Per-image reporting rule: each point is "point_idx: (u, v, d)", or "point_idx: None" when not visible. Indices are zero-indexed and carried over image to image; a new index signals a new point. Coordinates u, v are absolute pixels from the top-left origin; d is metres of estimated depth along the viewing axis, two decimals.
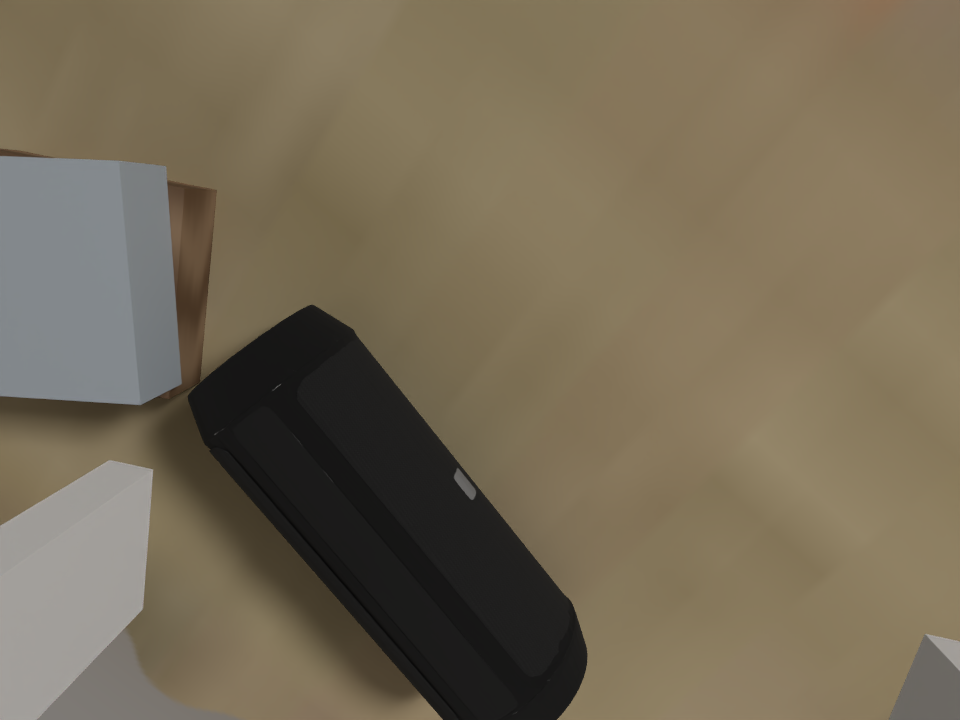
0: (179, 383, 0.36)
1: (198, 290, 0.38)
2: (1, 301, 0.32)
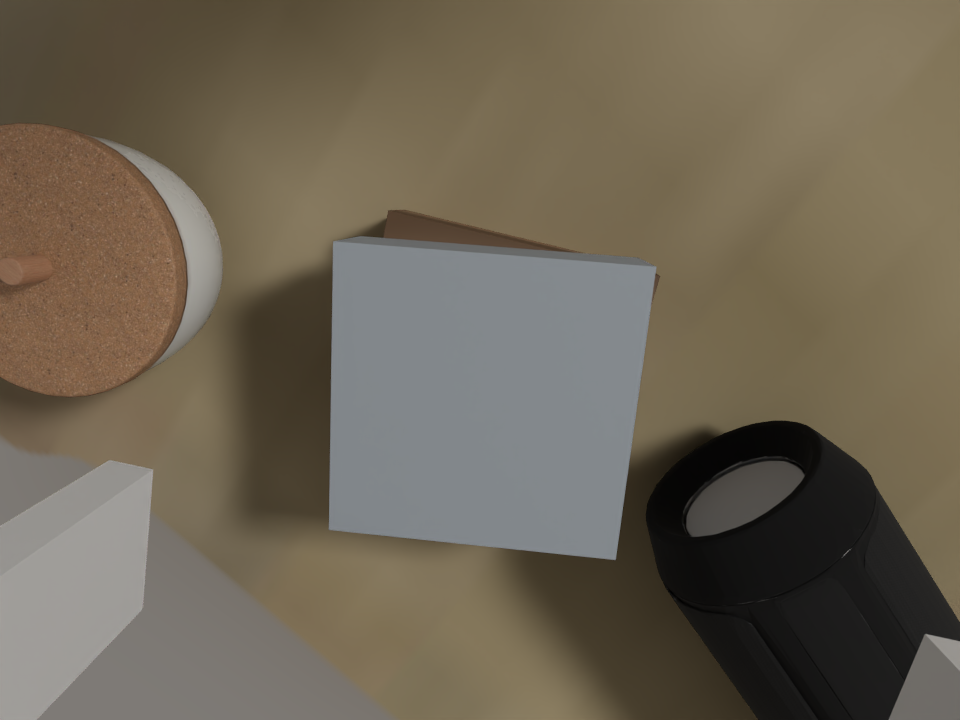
0: None
1: None
2: (458, 430, 0.25)
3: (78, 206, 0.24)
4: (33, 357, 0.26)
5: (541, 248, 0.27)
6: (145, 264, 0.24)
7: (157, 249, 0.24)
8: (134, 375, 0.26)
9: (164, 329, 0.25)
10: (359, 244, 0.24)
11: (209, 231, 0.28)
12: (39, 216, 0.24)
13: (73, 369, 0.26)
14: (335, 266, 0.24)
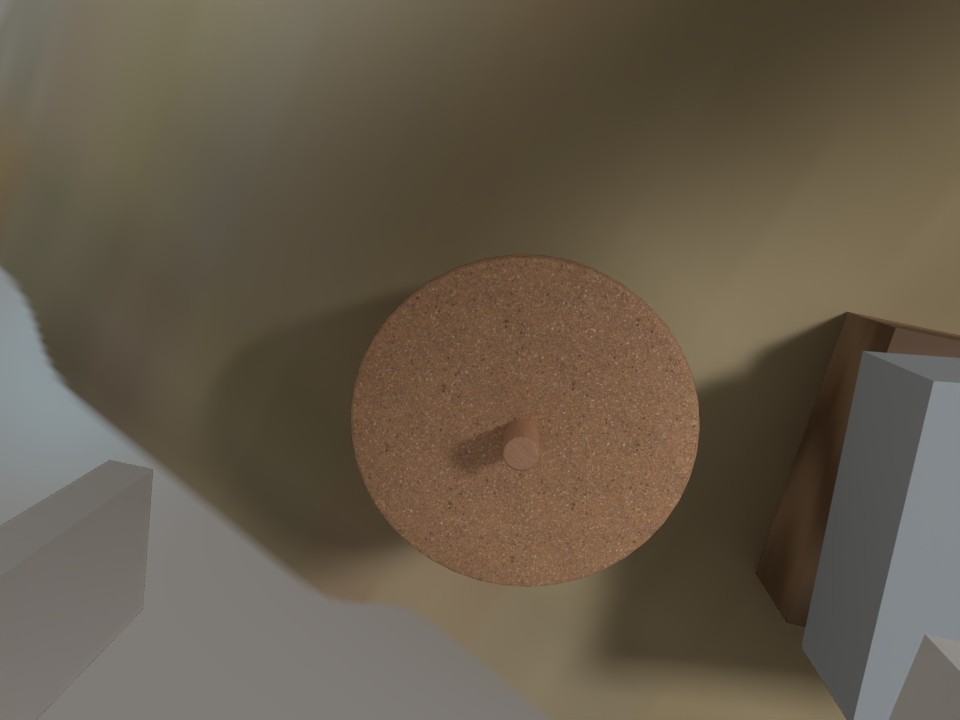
0: None
1: None
2: None
3: (587, 360, 0.19)
4: (494, 543, 0.20)
5: None
6: (666, 429, 0.19)
7: (683, 410, 0.19)
8: (619, 560, 0.20)
9: (672, 505, 0.20)
10: None
11: None
12: (531, 373, 0.19)
13: (545, 556, 0.20)
14: (930, 411, 0.19)
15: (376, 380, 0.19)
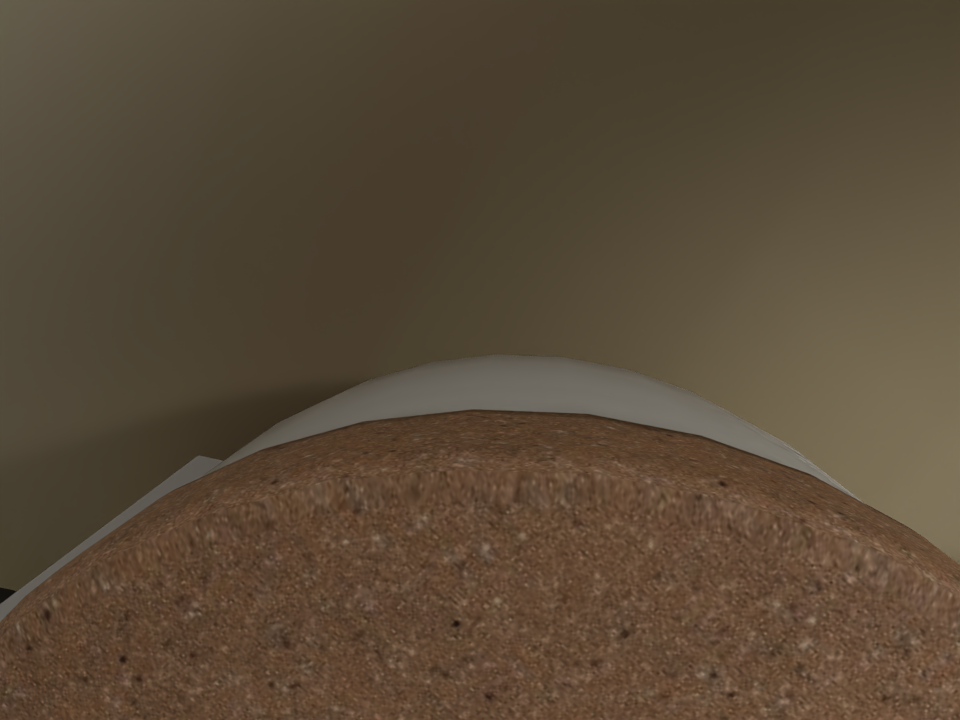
0: None
1: None
2: None
3: None
4: None
5: None
6: None
7: None
8: None
9: None
10: None
11: None
12: None
13: None
14: None
15: None
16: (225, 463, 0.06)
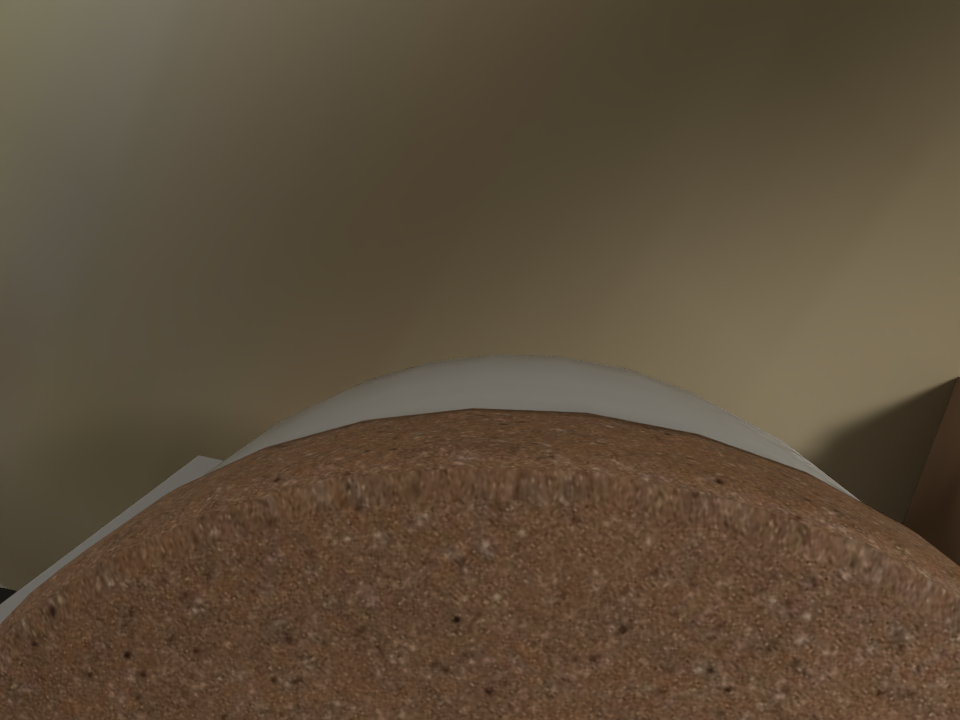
0: None
1: None
2: None
3: None
4: None
5: None
6: None
7: None
8: None
9: None
10: None
11: None
12: None
13: None
14: None
15: None
16: (227, 461, 0.06)
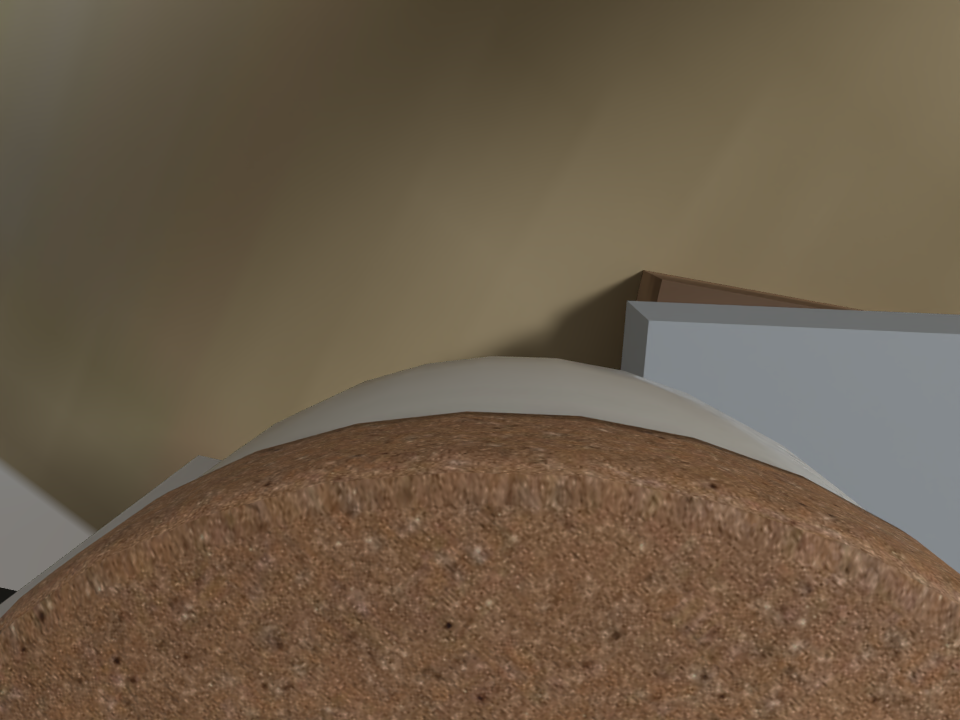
0: None
1: None
2: None
3: None
4: None
5: None
6: None
7: None
8: None
9: None
10: (684, 323, 0.18)
11: None
12: None
13: None
14: (649, 352, 0.18)
15: None
16: (220, 465, 0.06)
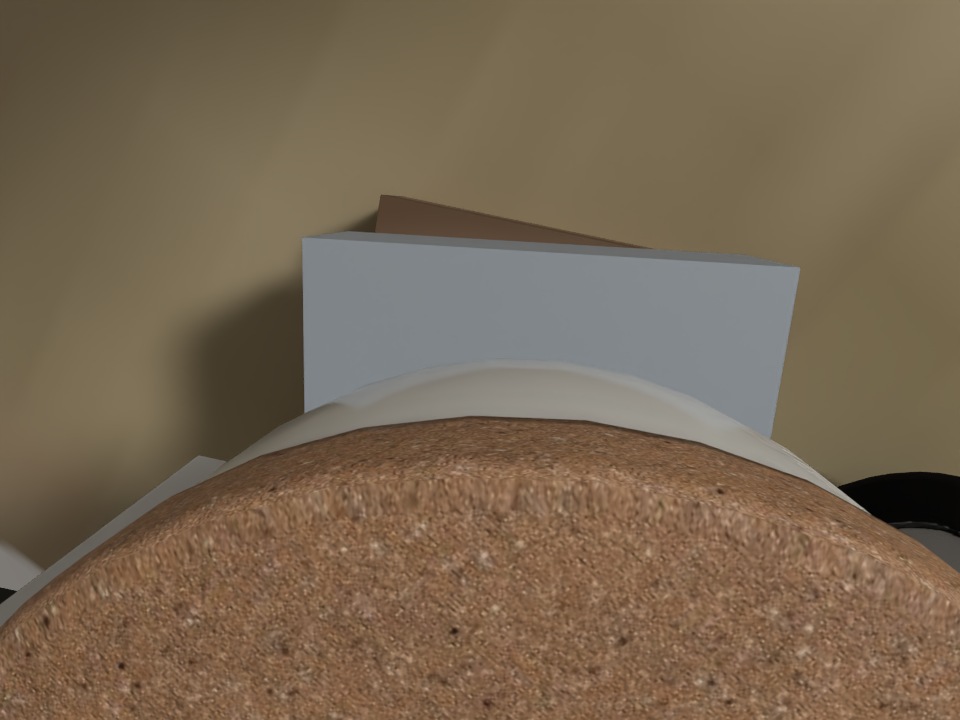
0: None
1: None
2: None
3: None
4: None
5: (600, 242, 0.19)
6: None
7: None
8: None
9: None
10: (342, 241, 0.16)
11: None
12: None
13: None
14: (306, 275, 0.16)
15: None
16: (224, 468, 0.06)
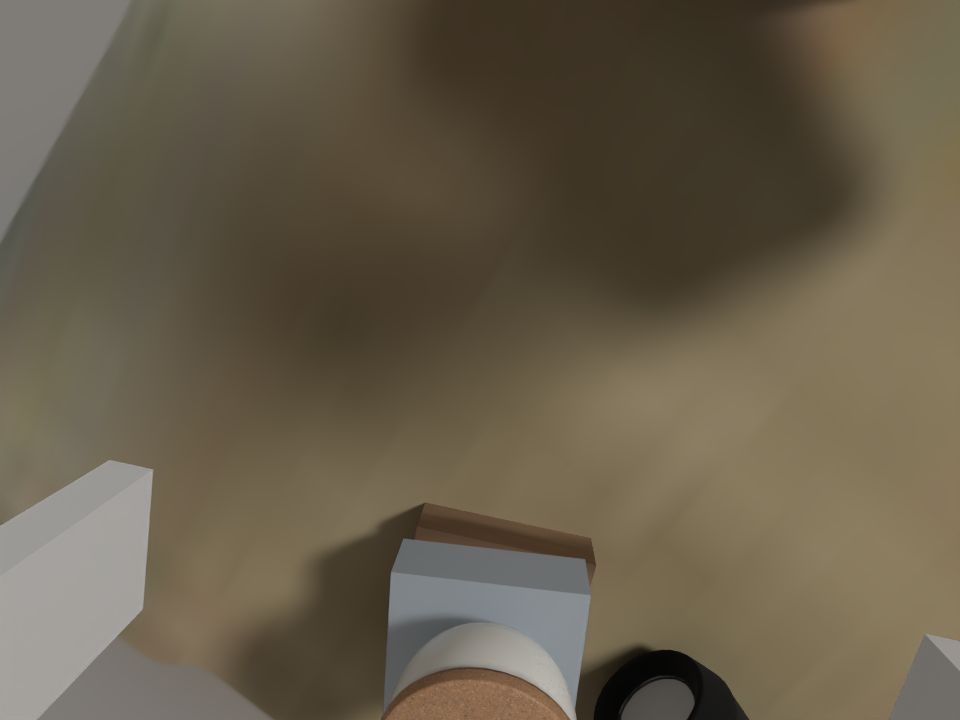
0: None
1: None
2: None
3: None
4: None
5: (517, 548, 0.42)
6: None
7: None
8: None
9: None
10: (407, 574, 0.38)
11: (570, 697, 0.35)
12: None
13: None
14: (391, 586, 0.38)
15: None
16: (427, 667, 0.33)
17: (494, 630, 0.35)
